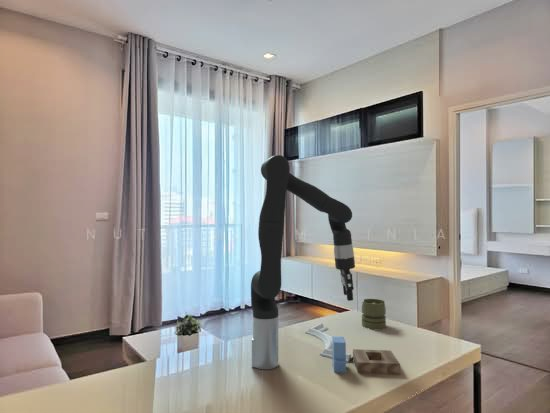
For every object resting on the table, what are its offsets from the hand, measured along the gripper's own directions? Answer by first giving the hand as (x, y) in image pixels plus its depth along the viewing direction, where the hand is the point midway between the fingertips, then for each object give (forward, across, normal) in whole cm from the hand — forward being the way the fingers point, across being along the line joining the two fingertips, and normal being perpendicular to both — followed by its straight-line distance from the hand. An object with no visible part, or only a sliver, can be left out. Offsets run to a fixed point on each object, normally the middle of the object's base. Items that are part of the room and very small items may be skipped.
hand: (348, 297), depth 135 cm
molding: (+22, -12, -8) cm, 26 cm away
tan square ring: (+22, +12, +5) cm, 25 cm away
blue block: (+21, +14, -8) cm, 26 cm away
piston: (+25, -36, +16) cm, 46 cm away
